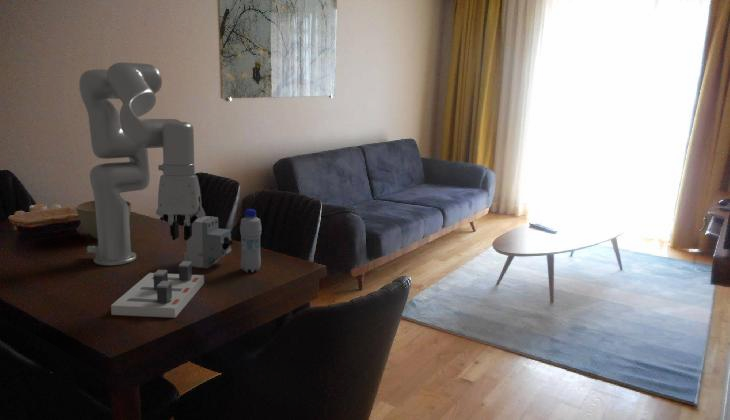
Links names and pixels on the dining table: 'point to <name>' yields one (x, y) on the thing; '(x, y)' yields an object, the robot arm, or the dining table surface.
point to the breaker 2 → (185, 270)
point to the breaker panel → (145, 297)
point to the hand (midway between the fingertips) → (181, 238)
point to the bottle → (250, 241)
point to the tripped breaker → (160, 277)
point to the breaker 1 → (164, 291)
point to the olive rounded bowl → (90, 216)
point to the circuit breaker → (207, 242)
